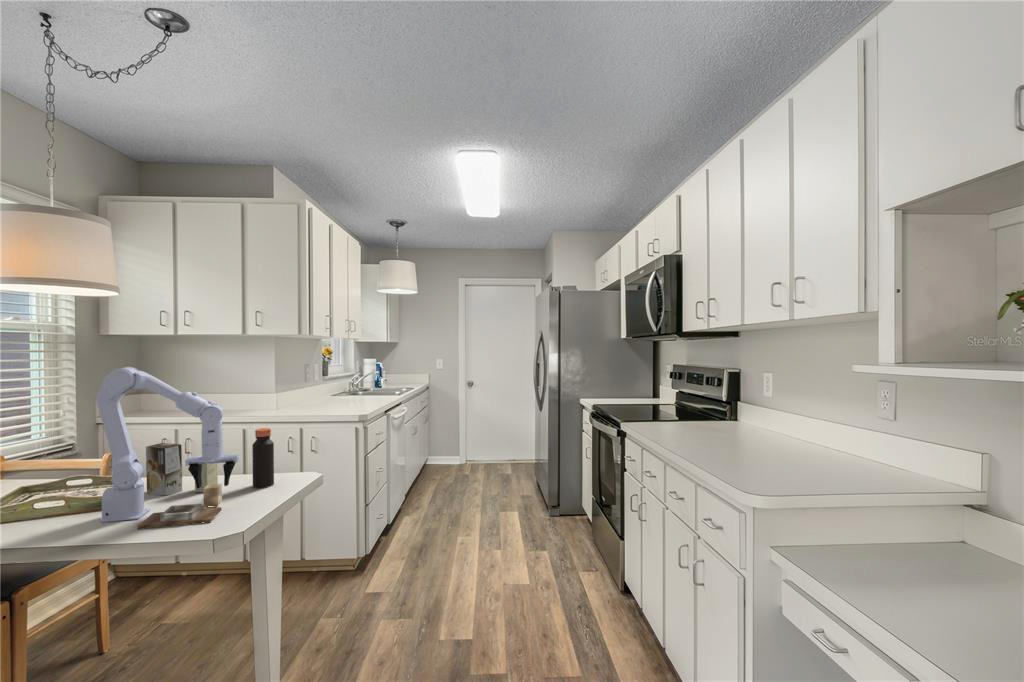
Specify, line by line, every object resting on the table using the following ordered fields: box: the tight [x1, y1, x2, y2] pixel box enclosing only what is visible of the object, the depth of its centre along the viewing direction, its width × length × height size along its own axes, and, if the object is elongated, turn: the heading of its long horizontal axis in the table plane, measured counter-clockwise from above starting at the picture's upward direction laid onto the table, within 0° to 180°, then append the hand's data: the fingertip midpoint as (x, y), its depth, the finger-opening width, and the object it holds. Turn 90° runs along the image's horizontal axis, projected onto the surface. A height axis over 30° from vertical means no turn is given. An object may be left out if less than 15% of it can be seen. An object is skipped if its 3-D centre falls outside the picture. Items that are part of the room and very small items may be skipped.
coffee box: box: [145, 442, 183, 497], centre depth 169 cm, size 9×6×16 cm
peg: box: [202, 483, 223, 508], centre depth 157 cm, size 4×4×6 cm
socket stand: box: [137, 502, 222, 530], centre depth 145 cm, size 18×10×3 cm, turn 105°
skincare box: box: [194, 454, 219, 493], centre depth 172 cm, size 6×4×12 cm
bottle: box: [251, 427, 275, 488], centre depth 177 cm, size 7×7×20 cm
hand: (212, 486), depth 156 cm, fingers open, 7 cm apart
